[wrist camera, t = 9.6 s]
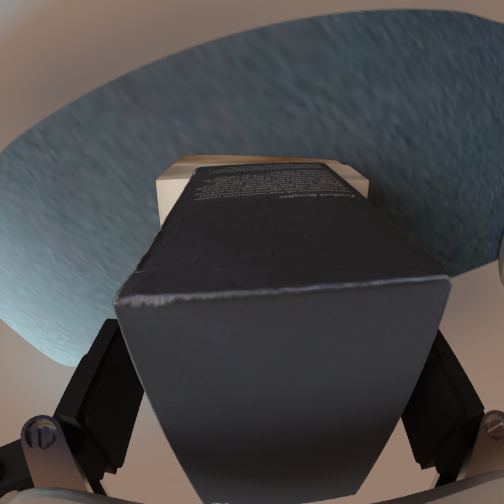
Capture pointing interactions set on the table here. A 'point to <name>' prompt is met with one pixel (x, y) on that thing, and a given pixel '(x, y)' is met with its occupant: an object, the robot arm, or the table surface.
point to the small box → (279, 331)
